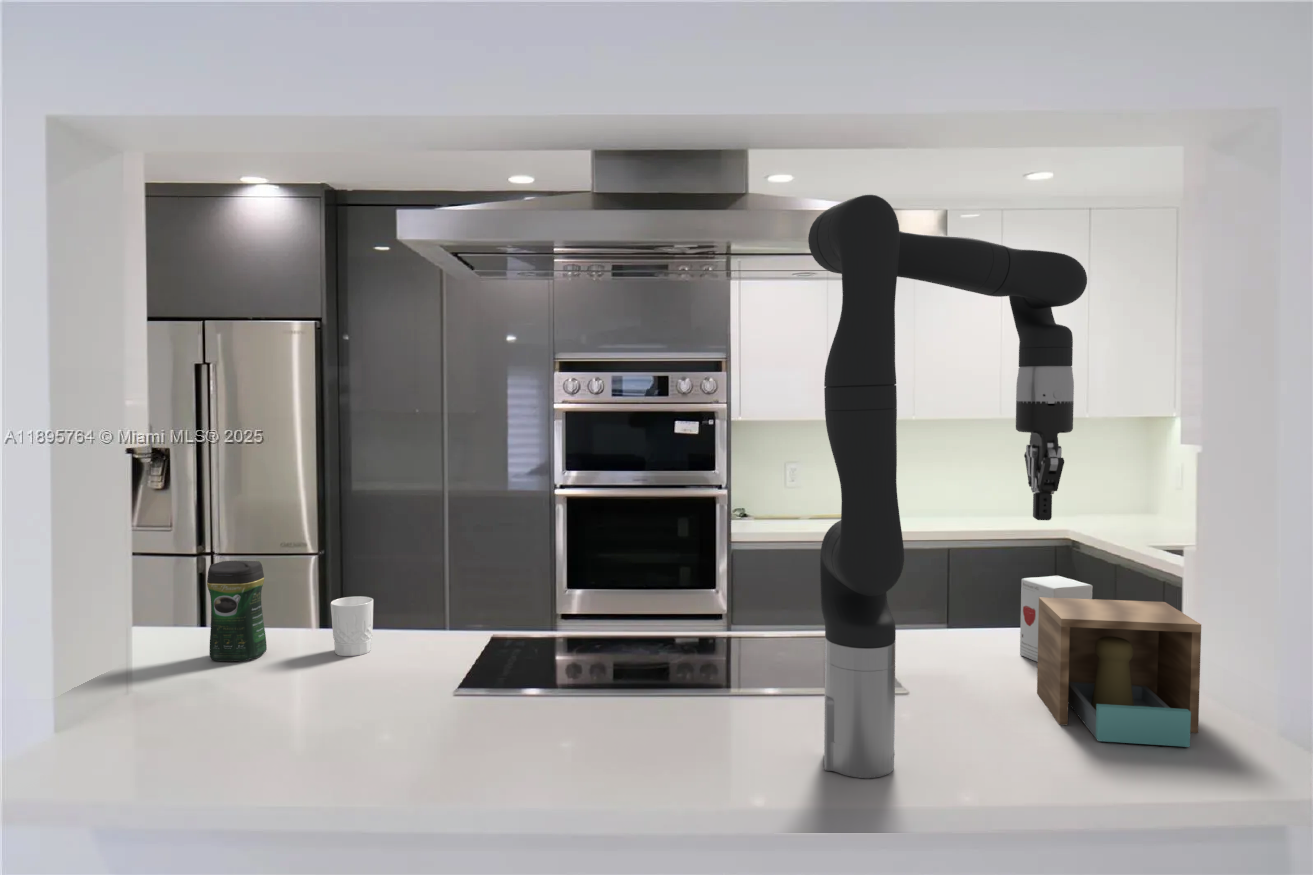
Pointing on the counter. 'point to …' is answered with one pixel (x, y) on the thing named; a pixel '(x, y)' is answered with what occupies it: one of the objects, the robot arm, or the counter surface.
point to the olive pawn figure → (1113, 672)
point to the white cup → (352, 625)
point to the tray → (1131, 717)
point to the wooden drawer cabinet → (1151, 628)
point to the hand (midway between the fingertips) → (1042, 519)
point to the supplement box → (1030, 605)
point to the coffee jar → (236, 610)
